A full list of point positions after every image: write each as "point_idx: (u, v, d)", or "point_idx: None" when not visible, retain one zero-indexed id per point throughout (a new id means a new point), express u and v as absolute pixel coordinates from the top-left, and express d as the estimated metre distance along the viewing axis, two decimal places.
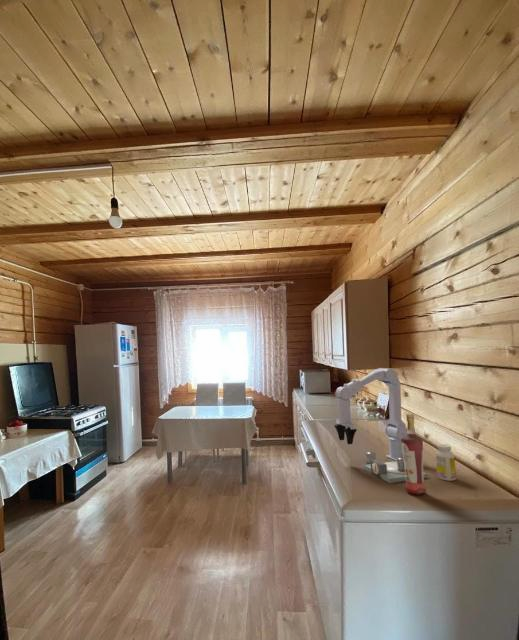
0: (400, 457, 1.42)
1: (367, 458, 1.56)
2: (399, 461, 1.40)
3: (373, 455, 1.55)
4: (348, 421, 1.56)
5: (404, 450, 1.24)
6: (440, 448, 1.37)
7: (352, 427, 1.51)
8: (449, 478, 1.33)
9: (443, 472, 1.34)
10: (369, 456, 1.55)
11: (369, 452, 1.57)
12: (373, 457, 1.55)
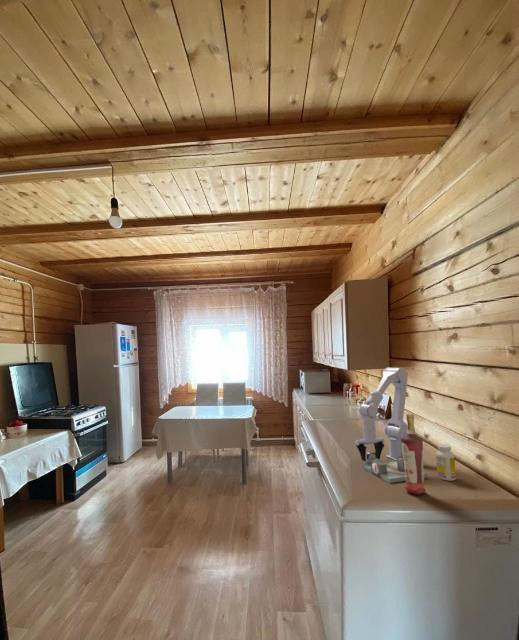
0: (400, 457, 1.42)
1: (367, 458, 1.56)
2: (399, 461, 1.40)
3: (373, 455, 1.55)
4: (364, 438, 1.57)
5: (404, 450, 1.24)
6: (440, 448, 1.37)
7: (355, 443, 1.56)
8: (449, 478, 1.33)
9: (443, 472, 1.34)
10: (369, 456, 1.55)
11: (369, 452, 1.57)
12: (373, 457, 1.55)
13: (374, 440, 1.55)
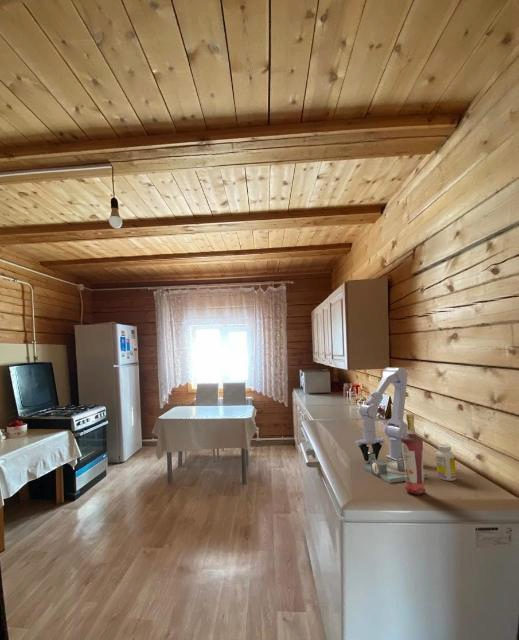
0: (400, 457, 1.42)
1: None
2: (399, 461, 1.40)
3: (373, 455, 1.55)
4: (364, 439, 1.57)
5: (404, 450, 1.24)
6: (440, 448, 1.37)
7: (355, 443, 1.56)
8: (449, 478, 1.33)
9: (443, 472, 1.34)
10: (369, 456, 1.55)
11: (369, 452, 1.57)
12: (373, 457, 1.55)
13: (374, 440, 1.55)
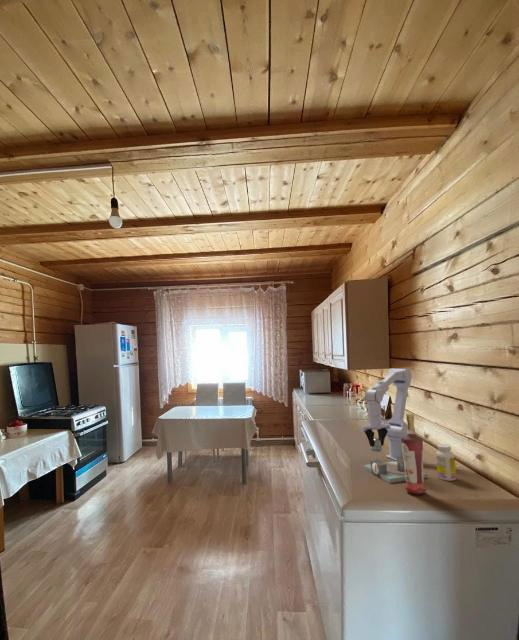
0: (400, 457, 1.42)
1: None
2: (399, 461, 1.40)
3: (379, 441, 1.53)
4: (370, 424, 1.54)
5: (404, 450, 1.24)
6: (440, 448, 1.37)
7: (361, 428, 1.54)
8: (449, 478, 1.33)
9: (443, 472, 1.34)
10: (375, 442, 1.53)
11: (375, 438, 1.55)
12: (379, 443, 1.53)
13: (380, 426, 1.53)
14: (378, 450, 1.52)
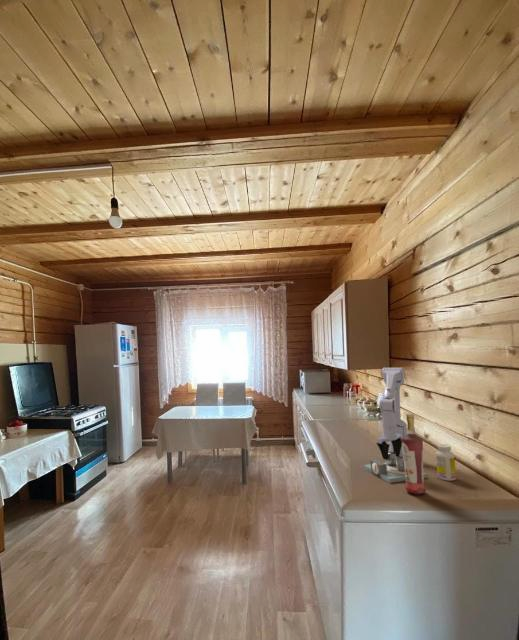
0: (400, 457, 1.42)
1: (388, 459, 1.47)
2: (399, 461, 1.40)
3: (394, 455, 1.47)
4: (386, 435, 1.47)
5: (404, 450, 1.24)
6: (440, 448, 1.37)
7: (378, 441, 1.45)
8: (449, 478, 1.33)
9: (443, 472, 1.34)
10: (391, 456, 1.46)
11: (389, 452, 1.49)
12: (394, 457, 1.47)
13: (396, 437, 1.47)
14: (394, 464, 1.46)
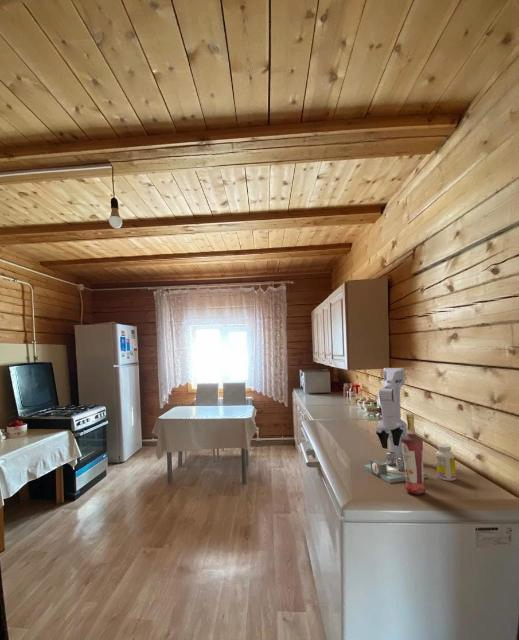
0: (400, 457, 1.42)
1: (388, 459, 1.47)
2: (399, 461, 1.40)
3: (394, 455, 1.47)
4: (385, 424, 1.48)
5: (404, 450, 1.24)
6: (440, 448, 1.37)
7: (377, 430, 1.46)
8: (449, 478, 1.33)
9: (443, 472, 1.34)
10: (391, 457, 1.46)
11: (389, 452, 1.49)
12: (394, 457, 1.47)
13: (395, 426, 1.47)
14: (394, 464, 1.46)
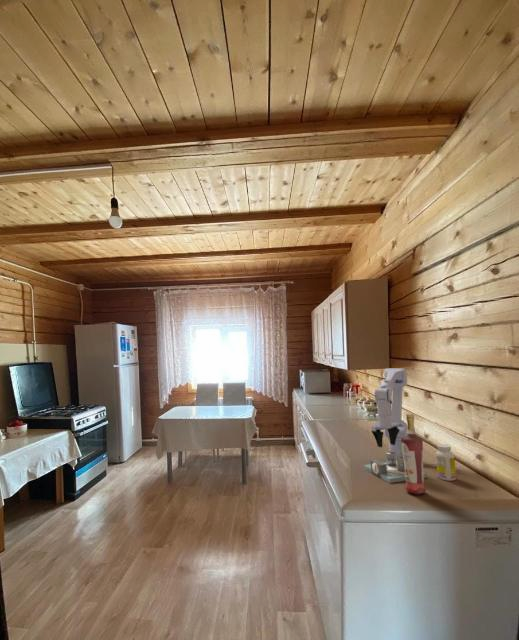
0: (400, 457, 1.42)
1: (388, 459, 1.47)
2: (399, 461, 1.40)
3: (394, 455, 1.47)
4: (380, 423, 1.50)
5: (404, 450, 1.24)
6: (440, 448, 1.37)
7: (372, 428, 1.49)
8: (449, 478, 1.33)
9: (443, 472, 1.34)
10: (391, 457, 1.46)
11: (389, 452, 1.49)
12: (394, 457, 1.47)
13: (390, 425, 1.49)
14: (394, 464, 1.46)
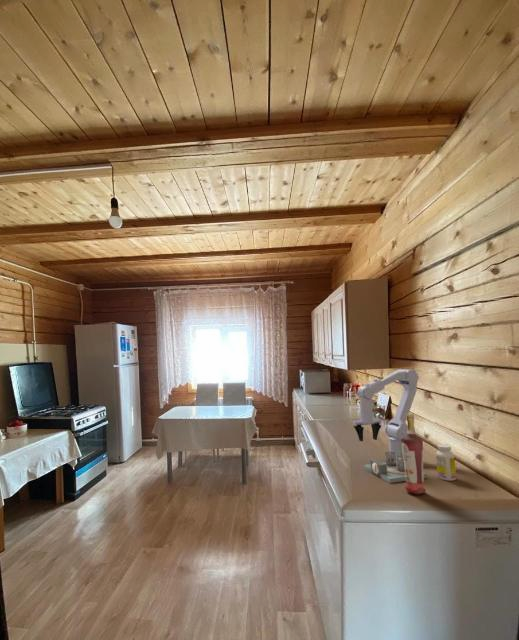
0: (400, 457, 1.42)
1: (388, 459, 1.47)
2: (399, 461, 1.40)
3: (394, 455, 1.47)
4: (362, 419, 1.61)
5: (404, 450, 1.24)
6: (440, 448, 1.37)
7: (353, 423, 1.60)
8: (449, 478, 1.33)
9: (443, 472, 1.34)
10: (391, 457, 1.46)
11: (389, 452, 1.49)
12: (394, 457, 1.47)
13: (371, 421, 1.59)
14: (394, 464, 1.46)
